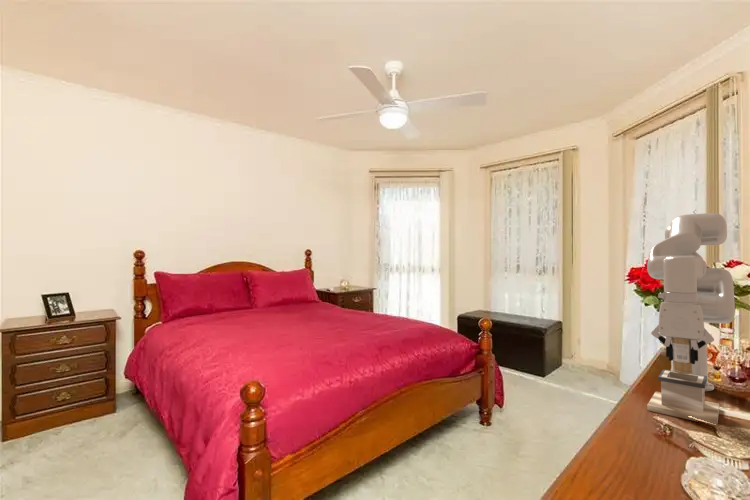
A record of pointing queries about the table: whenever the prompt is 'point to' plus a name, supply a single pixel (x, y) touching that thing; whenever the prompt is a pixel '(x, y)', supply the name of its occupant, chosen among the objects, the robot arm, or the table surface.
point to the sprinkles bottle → (681, 355)
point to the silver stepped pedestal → (683, 397)
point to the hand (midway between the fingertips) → (682, 360)
